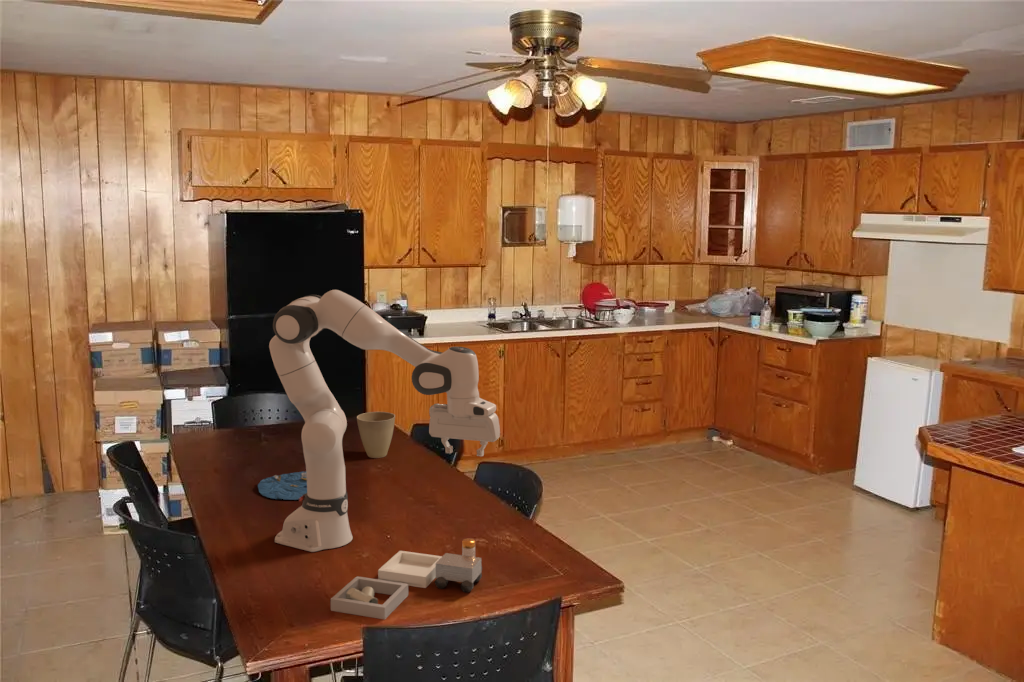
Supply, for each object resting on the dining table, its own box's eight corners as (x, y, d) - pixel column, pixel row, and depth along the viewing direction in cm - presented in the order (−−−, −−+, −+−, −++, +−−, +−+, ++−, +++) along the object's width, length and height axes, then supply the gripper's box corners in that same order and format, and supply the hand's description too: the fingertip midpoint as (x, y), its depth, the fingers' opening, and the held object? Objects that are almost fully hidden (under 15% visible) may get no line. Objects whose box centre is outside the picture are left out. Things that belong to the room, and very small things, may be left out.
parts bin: (330, 610, 204) (330, 598, 203) (357, 587, 216) (356, 576, 216) (384, 619, 199) (384, 607, 199) (408, 595, 212) (408, 584, 212)
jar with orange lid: (460, 574, 224) (460, 542, 223) (464, 569, 228) (464, 537, 226) (472, 576, 223) (472, 544, 222) (477, 570, 227) (477, 539, 225)
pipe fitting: (366, 597, 212) (345, 604, 207) (367, 582, 212) (346, 589, 207) (387, 606, 207) (366, 614, 202) (388, 591, 207) (367, 598, 202)
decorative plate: (355, 479, 308) (355, 465, 307) (329, 506, 278) (329, 491, 278) (276, 472, 310) (277, 459, 310) (243, 499, 281) (243, 484, 280)
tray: (378, 580, 220) (378, 570, 220) (400, 560, 233) (399, 550, 232) (425, 588, 216) (425, 577, 216) (445, 567, 229) (445, 556, 228)
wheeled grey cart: (435, 588, 216) (434, 564, 215) (455, 566, 230) (455, 543, 229) (471, 593, 213) (471, 569, 212) (489, 570, 227) (489, 548, 226)
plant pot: (355, 451, 336) (354, 413, 334) (392, 449, 341) (391, 410, 338) (360, 462, 322) (359, 422, 320) (398, 459, 327) (398, 419, 324)
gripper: (424, 405, 232) (425, 454, 234) (493, 410, 225) (494, 460, 227) (434, 400, 238) (435, 448, 240) (501, 405, 231) (502, 454, 233)
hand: (464, 454), depth 233 cm, fingers open, 8 cm apart
